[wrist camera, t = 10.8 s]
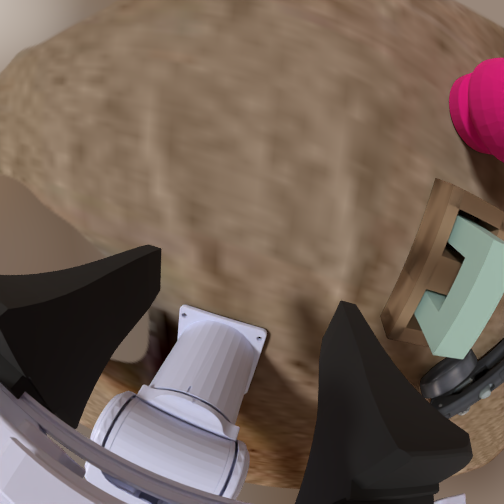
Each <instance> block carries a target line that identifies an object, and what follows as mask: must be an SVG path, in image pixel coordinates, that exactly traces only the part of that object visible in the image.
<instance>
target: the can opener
mask: <svg viewBox="0 0 504 504" xmlns="http://www.w3.org/2000/svg"><path fill="white" fill-rule="evenodd" d="M503 382H504V339H503V340H502V342H500V343H499V344H498V345H497V346H496V347H495V348H494V349H493V350H492V351H491V352H490V353H489V354H487V355H486V356H485V357H484V358H482V359H481V360H479V361H478V362H477V357H476V356H475V354H474V352H473V351H472V349H470V350H469V352H468V353H467V355H466V356H465V357H464V359H457V358H450V357H447V358H445V359H444V360H442V361H441V362H439V363H438V364H437V365H435V366H434V367H433V368H432V369H431V370H430V371H429V372H428V373H427V374H426V375H425V376H424V377H423V378H422V380H421V381H420V388H421V393H422V396H423V397H424V398H431V402H430V404H431V405H432V406H433V407H434V408H435V409H436V410H438V411H439V412H440V413H441V414H442V415H444V416H445V417H446V418H447V419H449V418H451V417H452V416H454V415H456V414H458V415H464V414H466V413H467V412H468V411H469V409H470V406H471V405H473V404H474V403H476V402H477V401H479V400H480V399H484V398H487V397H488V396H490V394H491V391H493V390H494V389H495V388H497V387H498V386H499V385H500V384H502V383H503Z"/></svg>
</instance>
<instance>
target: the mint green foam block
mask: <svg viewBox="0 0 504 504" xmlns="http://www.w3.org/2000/svg"><path fill="white" fill-rule="evenodd" d="M447 242H448V243H449V244H450V245H452V246H453V247H454V248H455V249H456V250H457V251H458V252H459V253H461V254H462V255H463V256H464V257H465V259H464V262H463V264H462V266H461V268H460V271H459V273H458V275H457V277H456V279H455V281H454V283H453V285H452V287H451V289H450V291H449V293H448V295H445V294H441V293H438V292H434V291H431V290H428V289H426V290H425V292H424V294H423V296H422V298H421V300H420V302H419V304H418V306H417V308H416V310H415V312H414V314H415V317H416V319H417V321H418V323H419V325H420V327H421V329H422V331H423V334H424V336H425V338H426V340H427V342H428V345H429V347H430V349H431V352H432V354H433V355H437V356H444V357H450V358H457V359H464V357H465V356H466V355H467V353H468V352H469V350H470V349H471V347H472V346H473V344H474V343H475V341H476V340H477V338H478V337H479V335H480V334H481V332H482V330H483V329H484V327H485V325H486V324H487V322H488V320H489V319H490V317H491V315H492V314H493V312H494V310H495V308H496V306H497V305H498V303H499V301H500V299H501V297H502V295H503V293H504V241H503V240H501V239H500V238H498V237H497V236H495V235H494V234H492V233H491V232H489V231H488V230H486V229H485V228H483V227H482V226H480V225H479V224H477V223H475V222H474V221H472V220H470V219H468V218H466V217H464V216H462V215H460V214H457V217H456V220H455V223H454V225H453V228H452V231H451V233H450V236H449V239H448V241H447Z"/></svg>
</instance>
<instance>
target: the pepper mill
mask: <svg viewBox="0 0 504 504" xmlns="http://www.w3.org/2000/svg"><path fill="white" fill-rule="evenodd" d="M449 108H450V114H451V118H452V121H453V124H454V126H455V128H456V130H457V132H458V134H459V135H460V137H461V138H462V139H463V140H464V142H465V143H466V144H467V145H468V146H470V147H471V148H472V149H474V150H476V151H478V152H480V153H485V154H491V155H494V156H495V157H496V158H497V159H498V160H500V161H502V162H503V163H504V58H493V59H488V60H486V61H483V62H481V63H480V64H479V65H478V66H477V67H476V68H475V69H474V71H473V73H470V74H467V75H464V76H462V77H460V78H458V79H457V80H456V81H455V82H454V84H453V86H452V88H451V91H450V96H449Z"/></svg>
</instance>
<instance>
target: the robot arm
mask: <svg viewBox="0 0 504 504" xmlns="http://www.w3.org/2000/svg"><path fill="white" fill-rule="evenodd" d="M160 278H161V248H158V247H155V246H151V245H145V246H141V247H137V248H134V249H131V250H128V251H125V252H122V253H119V254H116V255H113V256H110V257H107V258H104V259H101V260H98V261H95V262H91V263H88V264H85V265H81V266H78V267H73V268H69V269H65V270H59V271H53V272H47V273H39V274H29V275H0V504H252V503H247V502H242V501H238V500H236V498H237V496H238V495H239V493H240V491H241V489H242V487H243V484H244V482H245V479H246V476H247V472H248V468H249V461H250V456H249V452H248V450H247V448H246V445H245V443H244V442H242V441H239V440H236V439H237V436H238V433H239V429H240V428H239V427H238V426H235V422H236V419H237V416H238V413H239V409H240V406H241V403H242V399H243V396H244V394H246V393H247V392H248V389H249V386H250V383H251V380H252V377H253V374H254V372H255V369H256V366H257V363H258V360H259V357H260V354H261V351H262V348H263V345H264V342H265V339H266V336H267V331H266V330H265V329H263V328H260V327H256V326H253V325H249V324H246V323H243V322H239V321H236V320H233V319H229V318H226V317H223V316H220V315H216V314H213V313H210V312H207V311H204V310H201V309H198V308H195V307H192V306H189V305H182V306H181V307H180V313H179V327H178V341H177V343H176V344H175V346H174V347H173V349H172V350H171V352H170V354H169V355H168V357H167V358H166V360H165V362H164V363H163V365H162V366H161V368H160V369H159V371H158V373H157V374H156V376H155V377H154V379H153V381H152V382H151V384H150V385H149V387H148V386H146V385H143V386H142V387H141V389H140V390H139V392H138V394H137V395H136V394H135V393H133V392H131V391H126V392H124V393H121V394H118V395H116V396H115V397H113V398H112V399H111V400H110V402H109V403H108V404H107V405H106V407H105V408H104V410H103V411H102V413H101V414H100V416H99V418H98V420H97V422H96V424H95V426H94V428H93V431H92V434H91V438H90V439H89V438H87V437H86V436H84V435H83V434H81V433H79V432H78V431H76V430H75V429H76V428H77V427H78V424H79V421H80V418H81V416H82V413H83V411H84V408H85V406H86V403H87V401H88V399H89V397H90V395H91V393H92V391H93V389H94V386H95V384H96V383H97V381H98V379H99V377H100V375H101V373H102V371H103V370H104V368H105V366H106V365H107V363H108V361H109V360H110V358H111V356H112V354H113V353H114V351H115V350H116V349H117V347H118V346H119V344H120V343H121V342H122V341H123V339H124V338H125V337H126V336H127V335H128V333H129V332H130V331H131V330H132V328H133V327H134V326H135V325H136V324H137V322H138V321H139V320H140V319H141V318H142V316H143V315H144V314H145V313H146V311H147V310H148V309H149V308H150V306H151V304H152V303H153V301H154V300H155V298H156V296H157V295H158V293H159V291H160ZM184 313H185V314H186V315H187V316H186V315H184ZM258 337H261V338H258ZM46 433H47V434H48V435H50V436H51V437H52V438H54V439H55V440H56V441H58V442H59V443H60V444H62V445H63V446H64V447H66V448H67V449H69V450H70V451H72V452H73V453H75V454H76V455H78V456H79V457H81V458H82V459H84V460H85V461H86V463H85V469H86V470H85V469H83V468H82V467H81V466H80V465H78V464H77V463H76V462H75V461H74V460H72V459H71V458H70V457H69V456H68V455H67V454H66V453H65V451H64V450H63V449H62V448H60V447H59V446H58V445H57V444H55V443H54V442H53V441H51V440H50V439H49V438H48V437H47V434H46ZM472 457H473V454H472V448H471V443H470V438H469V434H468V433H467V432H465V431H464V430H463V429H461V428H460V427H458V426H457V425H456V424H454V423H453V422H451V421H450V420H449V419H447V418H446V417H445V416H444V415H442V414H441V413H440V412H439V411H438V410H436V409H435V408H434V407H433V406H432V405H431V404H430V403H429V402H428V401H427V400H426V399H425V398H424V397H423V396H422V395H421V394H420V393H419V392H418V391H417V390H416V389H415V388H414V387H413V386H412V385H411V384H410V383H409V382H408V380H407V379H406V378H405V377H404V375H403V374H402V373H401V372H400V371H399V369H398V368H397V367H396V366H395V364H394V363H393V362H392V360H391V359H390V357H389V356H388V354H387V353H386V352H385V350H384V349H383V347H382V346H381V344H380V343H379V341H378V339H377V338H376V336H375V335H374V333H373V331H372V330H371V328H370V327H369V325H368V323H367V322H366V320H365V318H364V317H363V315H362V313H361V312H360V310H359V309H358V307H357V306H356V304H352V303H349V302H345V301H340V303H339V305H338V307H337V310H336V312H335V314H334V316H333V318H332V320H331V322H330V324H329V327H328V329H327V331H326V333H325V335H324V337H323V339H322V345H321V352H320V359H319V390H318V412H317V421H316V426H315V432H314V437H313V442H312V447H311V451H310V455H309V460H308V463H307V467H306V471H305V474H304V478H303V481H302V484H301V488H300V491H299V494H298V497H297V499H296V502H295V504H466V497H465V494H464V493H462V494H459V495H455V496H450V497H446V498H442V499H439V500H436V501H434V496H433V494H436V493H438V491H439V482H441V481H443V480H445V479H447V478H448V477H450V476H452V475H453V474H455V473H457V472H458V471H460V470H461V469H463V468H464V467H465V466H466V465H467V464H468V463H469V462H470V461H471V459H472ZM84 476H85V478H86V480H87V481H86V480H84V479H83V477H84Z"/></svg>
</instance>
